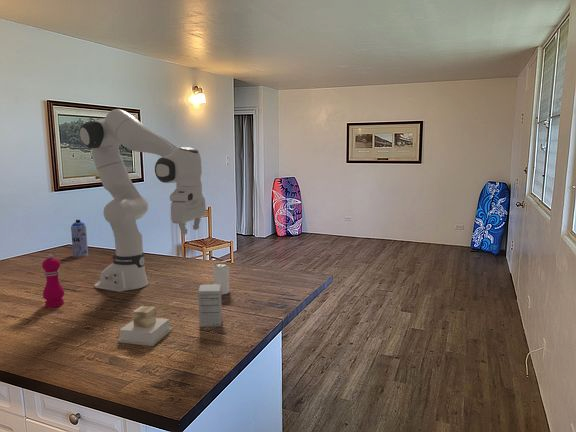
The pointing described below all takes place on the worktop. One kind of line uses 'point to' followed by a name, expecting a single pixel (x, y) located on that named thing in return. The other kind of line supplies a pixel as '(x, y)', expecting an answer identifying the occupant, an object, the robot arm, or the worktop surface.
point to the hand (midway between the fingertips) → (190, 231)
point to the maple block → (144, 316)
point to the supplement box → (210, 305)
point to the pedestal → (145, 333)
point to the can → (221, 276)
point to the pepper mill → (52, 283)
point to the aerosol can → (79, 239)
